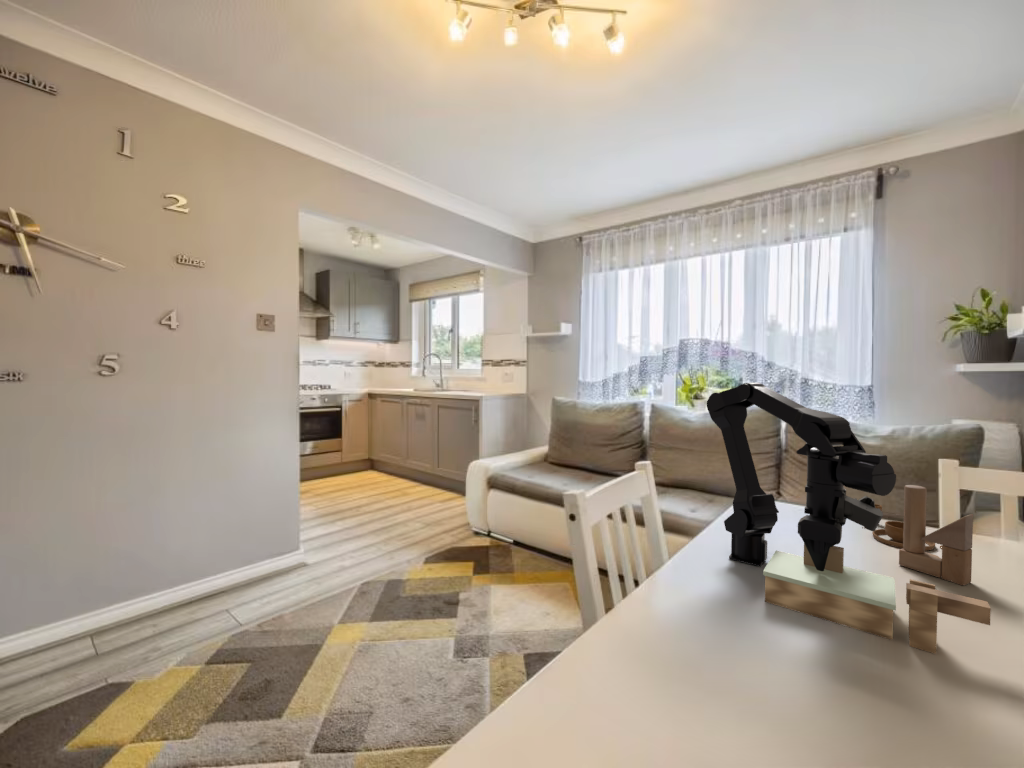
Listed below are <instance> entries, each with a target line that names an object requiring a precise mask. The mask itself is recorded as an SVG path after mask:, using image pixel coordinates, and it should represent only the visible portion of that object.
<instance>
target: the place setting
mask: <svg viewBox="0 0 1024 768" xmlns="http://www.w3.org/2000/svg"><path fill="white" fill-rule="evenodd" d="M875 508H879V509H880V510H881V511H882V510H883V506H882V505H881V504H877V503H875ZM882 512H883V511H882ZM862 529H865V530H866V528H865V527H864V526H862ZM903 530H904V521H898V520H887V521H885V522H884V529H883V528H881V529H879V528H878V529H876V530H875V531H871V532H872V537H873V538H874V539H875V540H876V541H878V542H880V543H883V544H885V545H888V546H891V547H895V548H898V549H899V548H900V549H903ZM880 536H887V537H889V538H890V539H892V540H889V539H885V538H883V537H880ZM942 546H943V545H939V548H940V550H942V548H941V547H942ZM935 548H936V543H933V542H929V541H926V540H925V552H928V551H929V550H930V551H932V550H934V549H935Z"/></svg>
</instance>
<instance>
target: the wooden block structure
mask: <svg viewBox="0 0 1024 768" xmlns="http://www.w3.org/2000/svg"><path fill="white" fill-rule="evenodd" d="M927 491H928V489H927V487H925V486H921V485H917V484H905V485H904V494H903V495H904V498H903V522H904V530H903V548H900V549H899V551H898V565H899V566H901V567H905V568H907V569H911V570H914V571H917V572H920V573H923V574H926V575H930V576H933V577H935V578H938V579H941V580H944V581H946V582H950V583H953V584H957V585H961V586H966V585H968V584H971V583H972V571H973V569H972V568H973V567H972V566H973V565H972V564H973V561H972V560H973V549H972V548H973V533H974V532H973V531H974V529H973V528H974V514H971V513H970V514H968V515H965V516H963V517H960V518H959V519H956V520H955V521H952V522H950V523H948V524H947V525H945V526H941V528H938V529H937V530H935V531H933V532H931V533H928V534H926V528H927V497H928V496H927ZM925 540H926V541H929V542H933V543H935V544H936V545H937V544H938V545H939V546H942V545H943V546H942V549H941V557H940V556H938V555H937V554H933V553H929V552H927V551H925V546H926V543H925Z"/></svg>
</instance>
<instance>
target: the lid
mask: <svg viewBox="0 0 1024 768" xmlns="http://www.w3.org/2000/svg"><path fill="white" fill-rule="evenodd" d="M844 553H845V549H844V547H842V546H836V545H834V546H832V547H830V550H829V554H828V558H827V561H826V565H825V569H824V571H819V570H817V569H816V567H815V565H814V563H813V561H812V558H811V556H810V554H809V552H808V550H807V548H806V546H805V544H804V543H803V556H801V555H797V554H793V553H788V552H786V551H780V550H775V551H774V553H773V555H772V556H771V558H770V559H769V560H768V562H767V564H766V566H765V567H764V569H763V572H762V575H763V576H764V577H765V576H768V577H772V578H775V579H779V580H783V581H787V582H790V583H794V584H798V585H802V586H805V587H809V588H813V589H817V590H820V591H824V592H828V593H832V594H835V595H839V596H843V597H846V598H850V599H854V600H858V601H861V602H865V603H869V604H873V605H876V606H880V607H884V608H888V609H891V610H893V611H894V612H895V611H897V600H896V599H897V597H896V583H895V582H896V579H895V577H892V576H888V575H885V574H880V573H875V572H871V571H866V570H862V569H858V568H854V567H850V566H845V565H844V563H845V562H844V560H845V559H844V557H845V554H844Z"/></svg>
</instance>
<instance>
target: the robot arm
mask: <svg viewBox="0 0 1024 768" xmlns="http://www.w3.org/2000/svg"><path fill="white" fill-rule="evenodd" d="M753 406H756V407H758V408H759V409H762V410H763V411H765V412H766V413H768V414H771V415H772V416H774V417H775V418H777V419H778V420H780V421H782V422H784V423H786V424H787V425H789V426H790V427H791V428H792V430H793V432H794V434H795V435H796V436H798V438H800V439H801V440H802V441H803V442H805V444H804V445H803V446H802V447H800V448H799V449H797V450H796V451H795V452H796V454H797V455H801V456H805V457H806V485H805V486H804V492H805V493H806V495H805V497H806V500H805V501H806V502H805V503H806V504H805V506H804V514H805V515H804V516H802V517H800V519H799V521H798V522H797V534H798V535H799V537H800V538H801V539H802V543H803V545H804V544H805V546H806V548H807V550H808V552H809V554H810V556H811V558H812V561H813V563H814V565H815V567H816V569H817V570H819V571H824V569H825V565H826V561H827V558H828V554H829V550H830V547H832V546H836V545H839V544H840V543H841V541H842V537H843V535H842V534H843V526H844V525H845V524H846V523H847V522H846V521H847V520H849V521H852V522H853V523H856V524H858V525H860V526H862V527H863V528H864V527H865V530H868V531H870V532H873V531H875V530H877V527H878V526H879V525H880V522H881V520H882V518H883V516H884V512H883V511H881V510H880V509H879V508H875V504H876V503H875V499H874V498H871V497H869V496H867V495H864V496H862V497H861V498H859V499H858V498H856V497H851V496H848V495H847V489H846V488H849V489H853V490H857V491H862V492H865V493H869V494H873V495H877V496H882V497H885V496H888V495H889V494H890V493H891V492H893V490H894V488H895V485H896V482H897V474H896V473H895V470H894V467H893V466H892V465H891V464H890V463H889V462H888V455H885V454H880V453H879V454H878V453H875V454H872V453H867V451H866V449H865V448H864V446H863V445H862V444H861V442H860V440H858V438H857V437H856V435H855V433H854V432H853V430H852V428H851V425H850V422H849V420H847V419H846V417H843V416H840V415H836V414H833V413H831V412H830V413H829V412H827V411H822V410H817V409H812V408H809V407H807V406H804V405H802V404H800V403H798V402H796V401H794V400H793V399H790V398H788V397H786V396H785V395H783V394H780V393H779V392H776V391H775V390H772V389H771V388H769V387H767V386H766V385H764V384H763V383H762V382H745V383H742V384H740V385H737V386H736V387H731V388H730V389H726V390H723V391H720V392H712V393H711V394H710V395H709V397H708V399H707V401H706V408H707V410H708V413H709V416H710V419H711V420H712V422H713V423H714V424H715V425H716V426H717V427H718V428H719V430H720V431H721V434H722V438H723V442H724V446H725V450H726V455H727V458H728V461H729V465H730V470H731V474H732V477H733V481H734V485H735V490H736V491H735V494H734V498H733V501H732V509H733V513H732V514H731V515H729V516H728V517H727V518H726V519H725V520H723V523H724V524H723V525H724V528H725V531H726V532H728V533H731V539H730V540H731V544H730V545H731V546H730V547H731V549H730V550H731V552H730V555H728V558H729V559H730V560H732V561H736V562H737V561H738V562H741V563H745V564H749V565H753V566H755V567H761V566H762V565H763V563H765V562H766V561H767V559H768V541H767V540H766V539H765V538H766V534H771V533H772V530H773V528H774V526H776V524H777V522H778V518H779V517H778V513H780V511H779V509H778V507H777V504H776V500H775V497H774V495H773V494H772V493H768V494H767V493H766V492H765V491H764V489H762V487H761V485H760V480H759V478H758V474H757V471H756V465H755V463H754V460H753V456H752V451H751V449H750V446H749V440H748V437H747V434H746V430H745V423H746V421H747V417H748V408H751V407H753Z"/></svg>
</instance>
